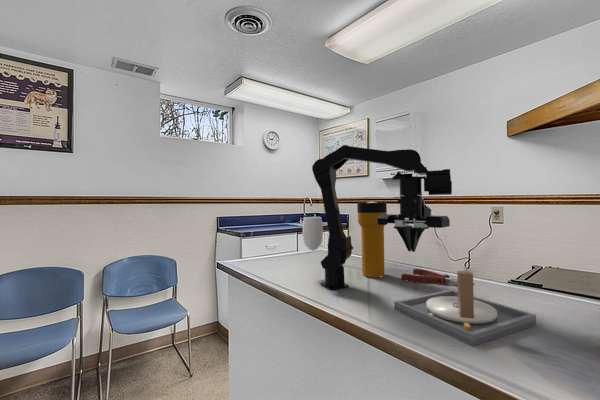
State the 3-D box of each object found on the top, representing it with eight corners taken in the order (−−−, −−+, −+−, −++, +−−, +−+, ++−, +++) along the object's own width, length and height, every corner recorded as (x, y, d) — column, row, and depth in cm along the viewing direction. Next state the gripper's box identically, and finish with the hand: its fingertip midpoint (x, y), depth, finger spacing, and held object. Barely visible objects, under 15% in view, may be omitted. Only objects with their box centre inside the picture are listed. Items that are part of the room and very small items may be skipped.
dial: (423, 298, 75) (422, 259, 75) (485, 302, 71) (485, 261, 71) (430, 319, 62) (429, 272, 62) (507, 327, 58) (506, 276, 58)
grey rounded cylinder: (300, 274, 106) (298, 217, 106) (317, 272, 109) (316, 216, 109) (309, 279, 100) (307, 218, 100) (327, 276, 103) (326, 217, 103)
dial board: (394, 309, 72) (394, 301, 72) (451, 296, 80) (451, 289, 80) (473, 346, 53) (472, 335, 53) (536, 324, 62) (536, 315, 62)
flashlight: (355, 201, 109) (382, 201, 109) (356, 271, 109) (383, 271, 109) (360, 201, 99) (390, 201, 99) (361, 278, 99) (391, 278, 99)
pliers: (467, 294, 83) (467, 284, 83) (399, 281, 98) (399, 273, 98) (478, 285, 91) (478, 276, 91) (414, 274, 106) (414, 267, 106)
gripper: (456, 194, 81) (458, 251, 81) (394, 196, 95) (395, 244, 95) (440, 194, 74) (441, 257, 74) (375, 196, 87) (376, 249, 87)
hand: (411, 251), depth 83 cm, fingers closed
